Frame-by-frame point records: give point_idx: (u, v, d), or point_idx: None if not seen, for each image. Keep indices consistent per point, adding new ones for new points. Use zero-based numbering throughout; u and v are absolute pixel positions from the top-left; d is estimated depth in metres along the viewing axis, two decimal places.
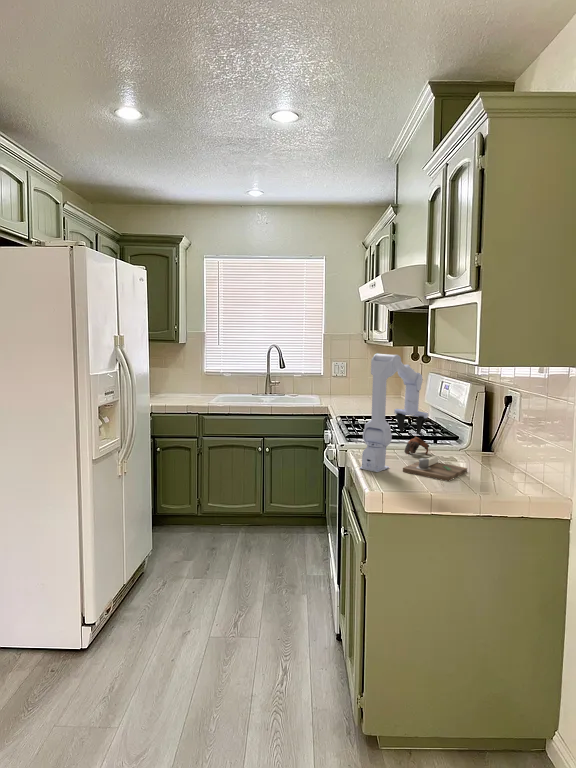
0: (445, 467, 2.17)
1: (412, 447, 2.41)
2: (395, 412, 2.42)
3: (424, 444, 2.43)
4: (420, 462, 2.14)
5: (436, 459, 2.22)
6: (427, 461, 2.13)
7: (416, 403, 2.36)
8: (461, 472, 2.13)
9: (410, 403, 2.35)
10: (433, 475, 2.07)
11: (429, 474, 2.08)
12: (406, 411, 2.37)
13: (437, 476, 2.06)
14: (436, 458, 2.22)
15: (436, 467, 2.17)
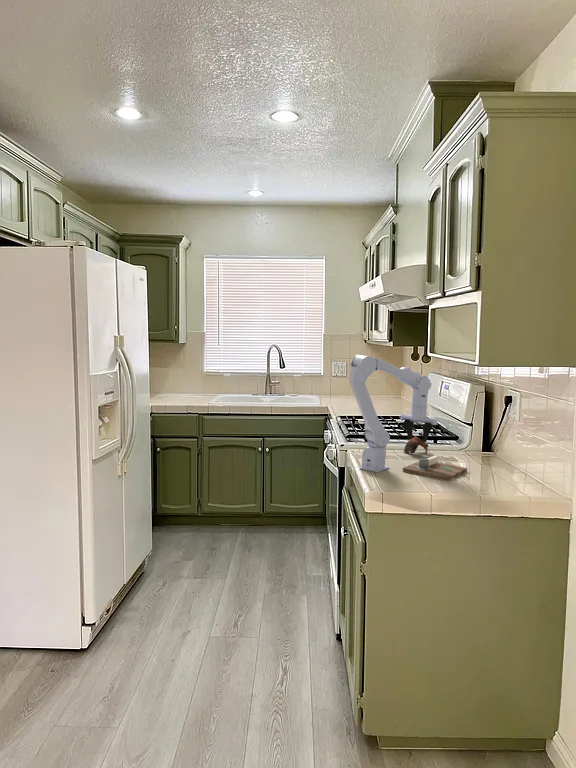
0: (445, 467, 2.17)
1: (411, 447, 2.41)
2: (401, 418, 2.25)
3: (423, 444, 2.43)
4: (420, 462, 2.14)
5: (436, 459, 2.22)
6: (427, 461, 2.13)
7: (424, 409, 2.19)
8: (461, 472, 2.13)
9: (418, 409, 2.18)
10: (433, 475, 2.07)
11: (429, 474, 2.08)
12: (413, 417, 2.20)
13: (437, 476, 2.06)
14: (436, 458, 2.22)
15: (436, 467, 2.17)
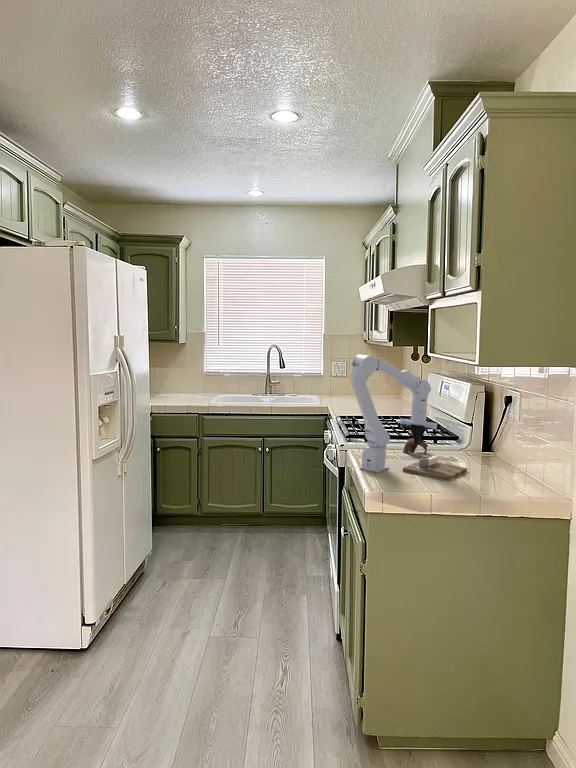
0: (445, 467, 2.17)
1: (411, 447, 2.41)
2: (401, 422, 2.25)
3: (423, 444, 2.44)
4: (420, 462, 2.14)
5: (436, 459, 2.22)
6: (427, 461, 2.13)
7: (424, 413, 2.19)
8: (461, 472, 2.13)
9: (417, 413, 2.18)
10: (433, 475, 2.07)
11: (429, 474, 2.08)
12: (413, 421, 2.20)
13: (437, 476, 2.06)
14: (436, 458, 2.22)
15: (436, 467, 2.17)
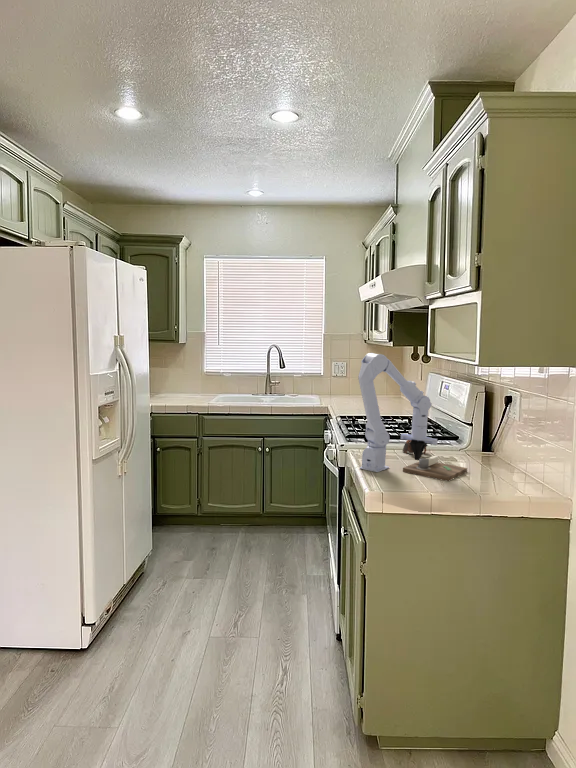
0: (445, 467, 2.17)
1: (410, 447, 2.41)
2: (401, 437, 2.25)
3: None
4: (420, 462, 2.14)
5: (436, 459, 2.22)
6: (427, 461, 2.13)
7: (424, 428, 2.19)
8: (461, 472, 2.13)
9: (418, 428, 2.19)
10: (433, 475, 2.07)
11: (429, 474, 2.08)
12: (413, 437, 2.20)
13: (437, 476, 2.06)
14: (436, 458, 2.22)
15: (436, 467, 2.17)
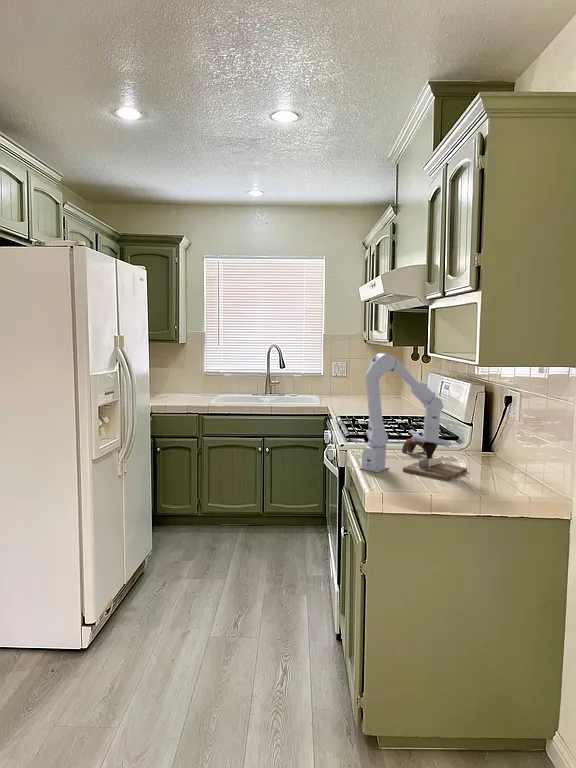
0: (445, 467, 2.17)
1: (409, 446, 2.42)
2: (413, 439, 2.22)
3: (421, 443, 2.44)
4: (420, 462, 2.14)
5: (439, 460, 2.21)
6: (427, 461, 2.13)
7: (437, 430, 2.16)
8: (461, 472, 2.13)
9: (430, 430, 2.16)
10: (433, 475, 2.07)
11: (429, 474, 2.08)
12: (425, 439, 2.17)
13: (437, 476, 2.06)
14: (439, 459, 2.21)
15: (436, 467, 2.17)
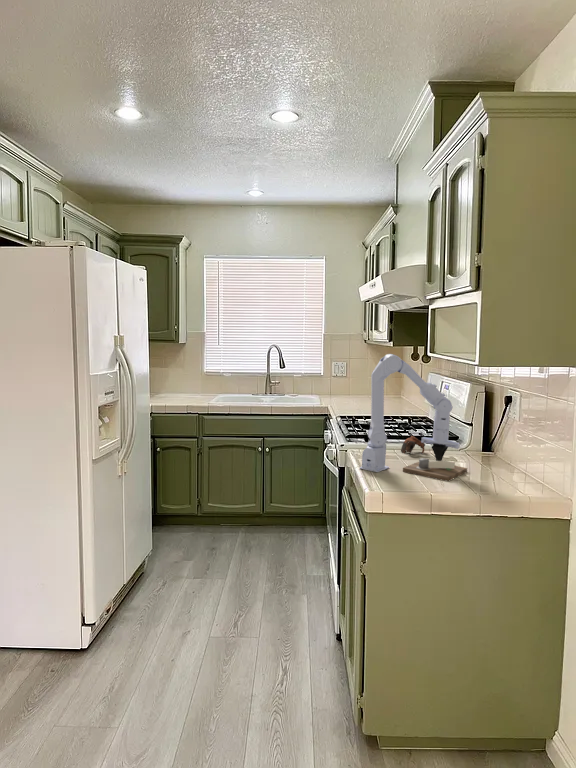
0: None
1: (408, 446, 2.42)
2: (422, 441, 2.20)
3: (420, 443, 2.45)
4: (419, 461, 2.15)
5: (450, 464, 2.14)
6: (423, 461, 2.13)
7: (446, 432, 2.14)
8: (461, 472, 2.13)
9: (440, 432, 2.13)
10: (433, 475, 2.07)
11: (429, 474, 2.08)
12: (435, 440, 2.15)
13: (437, 476, 2.06)
14: (449, 463, 2.14)
15: None
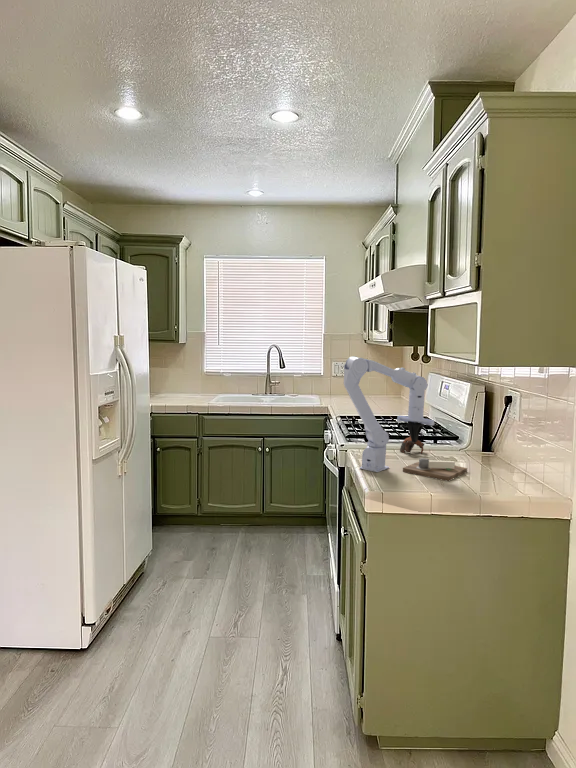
0: None
1: (407, 446, 2.42)
2: (398, 419, 2.22)
3: (419, 443, 2.45)
4: (419, 461, 2.15)
5: (450, 464, 2.14)
6: (423, 461, 2.13)
7: (421, 409, 2.16)
8: (461, 472, 2.13)
9: (414, 409, 2.16)
10: (433, 475, 2.07)
11: (429, 474, 2.08)
12: (410, 418, 2.17)
13: (437, 476, 2.06)
14: (449, 463, 2.14)
15: None
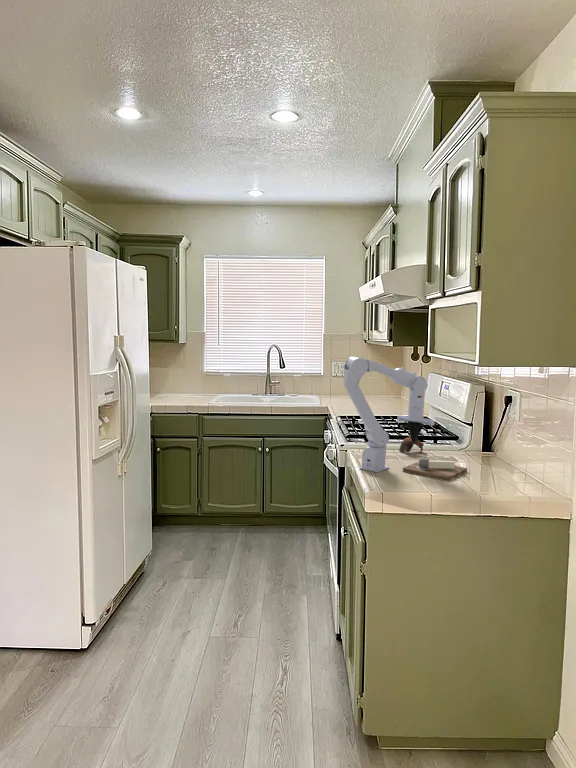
0: None
1: (407, 446, 2.42)
2: (398, 419, 2.22)
3: (419, 443, 2.45)
4: (419, 461, 2.15)
5: (450, 464, 2.14)
6: (423, 461, 2.13)
7: (421, 409, 2.16)
8: (461, 472, 2.13)
9: (414, 409, 2.16)
10: (433, 475, 2.07)
11: (429, 474, 2.08)
12: (410, 418, 2.17)
13: (437, 476, 2.06)
14: (449, 463, 2.14)
15: None
